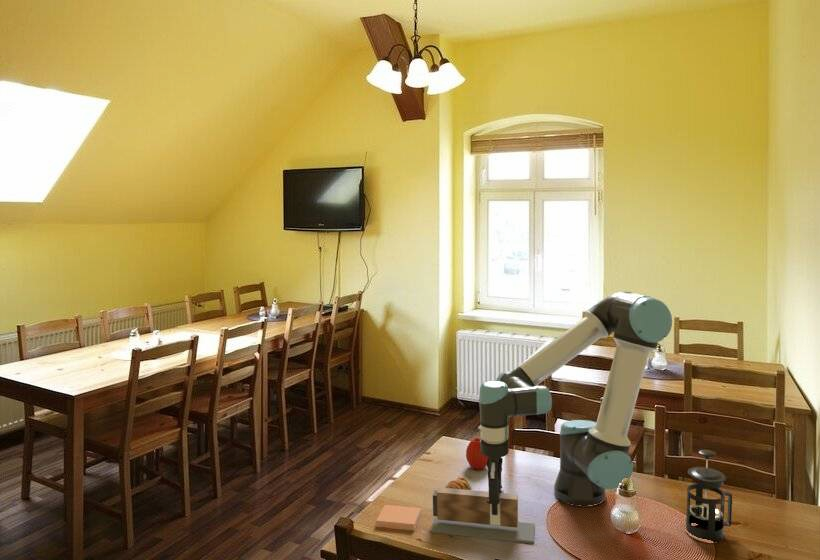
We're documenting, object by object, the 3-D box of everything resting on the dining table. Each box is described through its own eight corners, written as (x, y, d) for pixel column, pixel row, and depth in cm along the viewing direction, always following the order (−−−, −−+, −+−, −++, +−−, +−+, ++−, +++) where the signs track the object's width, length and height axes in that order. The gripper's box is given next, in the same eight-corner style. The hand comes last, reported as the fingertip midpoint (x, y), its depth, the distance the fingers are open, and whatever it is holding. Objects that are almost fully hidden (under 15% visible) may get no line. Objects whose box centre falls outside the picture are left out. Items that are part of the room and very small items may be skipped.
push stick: (517, 521, 161) (517, 494, 160) (517, 527, 158) (517, 499, 157) (435, 513, 166) (434, 486, 165) (433, 519, 163) (432, 492, 162)
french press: (689, 543, 152) (692, 458, 150) (677, 524, 162) (679, 444, 159) (737, 544, 151) (740, 459, 148) (722, 525, 160) (725, 445, 158)
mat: (534, 525, 163) (534, 523, 162) (533, 543, 154) (533, 541, 154) (436, 515, 169) (435, 513, 169) (429, 532, 160) (429, 530, 160)
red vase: (463, 463, 204) (463, 433, 203) (486, 461, 205) (486, 432, 204) (468, 473, 196) (468, 442, 195) (492, 471, 197) (492, 441, 196)
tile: (421, 508, 170) (384, 504, 172) (414, 524, 161) (376, 520, 164) (421, 515, 170) (384, 512, 173) (414, 532, 161) (376, 528, 164)
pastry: (454, 502, 177) (454, 490, 177) (437, 495, 182) (437, 483, 181) (473, 491, 184) (472, 479, 184) (456, 484, 189) (456, 473, 188)
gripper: (483, 427, 166) (485, 505, 169) (476, 449, 151) (478, 535, 154) (510, 428, 165) (511, 507, 167) (505, 451, 149) (507, 538, 152)
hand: (496, 520), depth 160 cm, fingers closed on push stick, 3 cm apart
